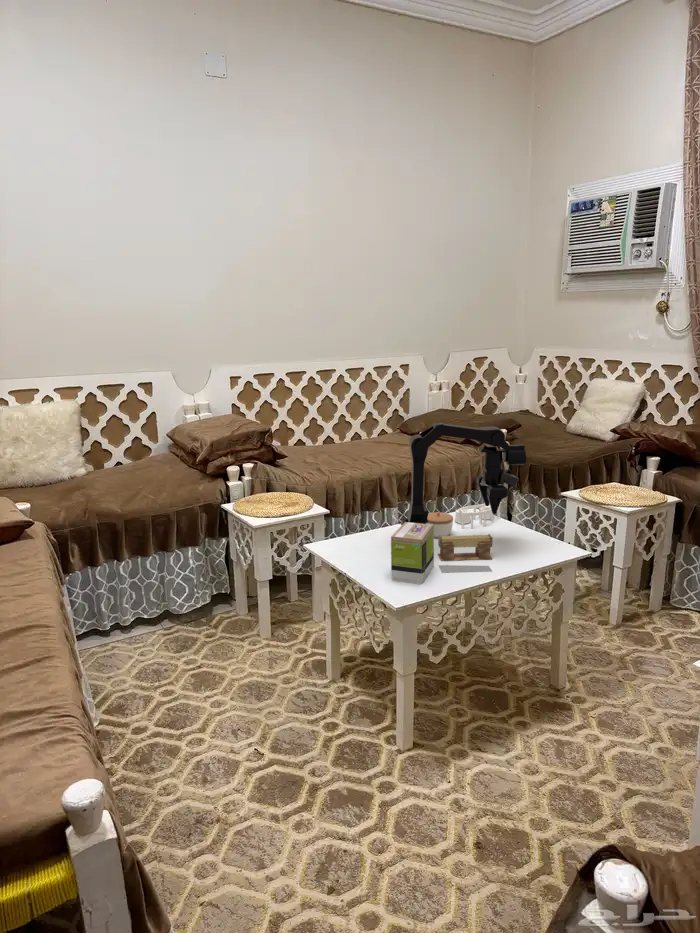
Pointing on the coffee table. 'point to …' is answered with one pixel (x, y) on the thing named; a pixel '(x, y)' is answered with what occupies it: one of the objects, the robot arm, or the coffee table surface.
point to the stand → (480, 553)
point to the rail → (465, 540)
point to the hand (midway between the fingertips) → (490, 509)
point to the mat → (463, 568)
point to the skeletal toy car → (483, 513)
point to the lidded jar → (440, 523)
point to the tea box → (412, 552)
